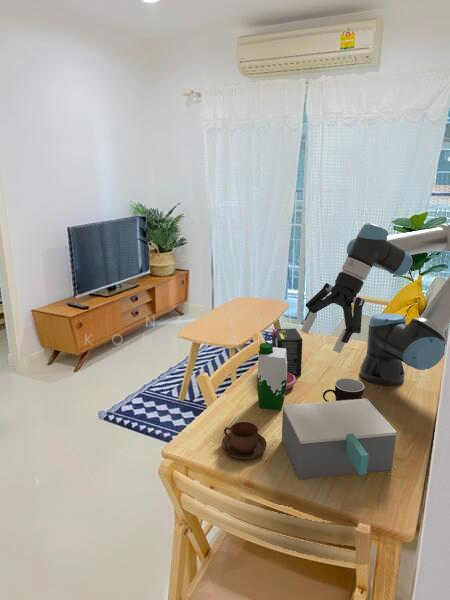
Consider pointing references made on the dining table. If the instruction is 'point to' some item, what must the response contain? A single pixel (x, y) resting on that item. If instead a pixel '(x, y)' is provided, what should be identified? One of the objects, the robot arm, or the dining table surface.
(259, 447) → the cup and saucer
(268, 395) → the milk carton
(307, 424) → the carton lid
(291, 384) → the saucer
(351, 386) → the coffee mug
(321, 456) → the carton
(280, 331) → the tampon box
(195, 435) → the dining table surface
